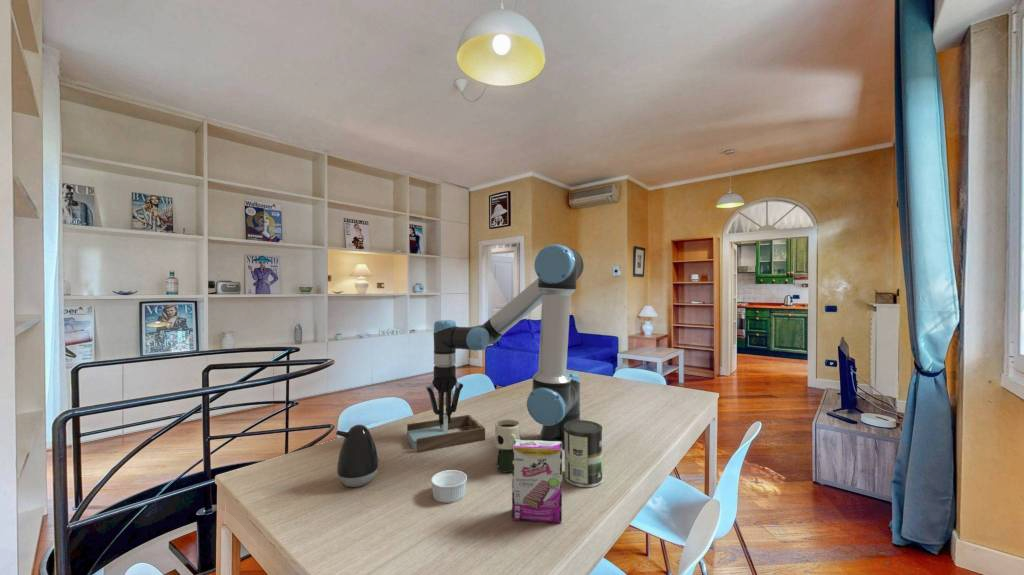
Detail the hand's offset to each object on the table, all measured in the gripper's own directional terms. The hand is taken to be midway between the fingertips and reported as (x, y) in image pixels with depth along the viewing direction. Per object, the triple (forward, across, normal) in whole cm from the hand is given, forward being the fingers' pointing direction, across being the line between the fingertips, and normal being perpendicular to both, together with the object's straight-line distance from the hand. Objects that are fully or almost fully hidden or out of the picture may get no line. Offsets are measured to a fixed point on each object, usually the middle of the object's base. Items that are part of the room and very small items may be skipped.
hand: (444, 433), depth 135 cm
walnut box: (+2, 0, 0) cm, 2 cm away
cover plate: (+2, +6, 0) cm, 6 cm away
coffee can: (+2, -26, +45) cm, 52 cm away
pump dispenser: (+2, +30, +20) cm, 36 cm away
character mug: (+2, -10, +31) cm, 33 cm away
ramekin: (+2, +10, +37) cm, 39 cm away
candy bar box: (+2, -6, +55) cm, 56 cm away
